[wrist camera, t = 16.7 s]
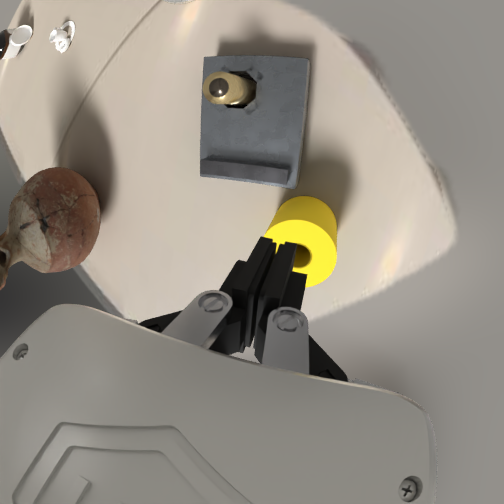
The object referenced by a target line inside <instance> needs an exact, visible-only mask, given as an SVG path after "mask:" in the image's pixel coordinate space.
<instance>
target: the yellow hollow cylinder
mask: <svg viewBox="0 0 504 504" xmlns="http://www.w3.org/2000/svg"><path fill="white" fill-rule="evenodd" d="M264 237H266V238H271V239H273V242H276V243H277V247H276V252H277V250H278V247H279V245H280V243H281V244H284V243H285V241H287V242H292V243H297V248H296V254H295V260H294V266H293V271H294V272H299V273H304V274H308V275H307V280H306V286H305V287H311V286H314V285H317V284H319V283H321V282H322V281H324V280H325V279H326V278H327V277H328V276H329V275H330V274H331V273H332V271H333V269H334V267H335V264H336V257H337V223H336V219H335V216H334V214H333V212H332V210H331V209H330V208H329V207H328V206H327V205H326V204H325V203H324V202H322V201H321V200H319V199H317V198H314V197H310V196H298V197H294V198H291V199H289V200H287V201H286V202H285V203H283V204H282V205H281V206H280V208H279V209H278V211H277V213H276V215H275V216H274V218H273V220H272V222H271V224H270V226H269V228H268V229H267V231H266V233H265V235H264Z"/></svg>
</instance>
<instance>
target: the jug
mask: <svg viewBox="0 0 504 504" xmlns="http://www.w3.org/2000/svg"><path fill="white" fill-rule="evenodd" d="M99 204H100V202H99V199H98V194H97V192H96V191H95V189H94V188H93V186H92V185H90V184H89V182H88V181H87V180H86V179H85V178H84V177H83V176H81V175H80V174H78V173H77V172H75V171H73V170H70V169H67V168H62V167H54V168H48V169H45V170H42V171H40V172H38V173H36V174H35V175H34V176H32V177H31V178H30V179H29V180H28V181H27V182H26V183H25V184H24V185H23V186H22V188H21V189H20V190H19V192H18V193H17V195H16V196H15V197H14V199H13V201H12V202H11V205H10V209H9V216H8V217H9V218H8V227H7V229H6V231H5V232H4V233H3V234H2V235H1V236H0V289H2V288H3V287H4V286H5V280H6V278H7V275H8V269H9V268H10V266H11V265H12V264H14V263H16V262H18V261H24V262H25V263H26V264H28V265H30V266H31V267H32V268H34V269H36V270H38V271H39V272H43V273H48V272H60V271H64V270H67V269H70V268H73V267H75V266H77V265H78V264H80V263H81V262H83V261H84V260H85V259H86V257H87V256H88V255H89V254H90V252H91V250H92V249H93V246H94V244H95V242H96V239H97V237H98V234H99V229H100V207H99Z"/></svg>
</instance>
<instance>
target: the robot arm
mask: <svg viewBox="0 0 504 504" xmlns="http://www.w3.org/2000/svg"><path fill="white" fill-rule="evenodd" d="M164 1H166V2H168V3H172V4H183V3H188V2H192V1H195V0H164ZM276 247H277V243H276V242H273V239H271V238H266V237H260V239H259V241H258V242H257V244H256V246H255V248H254V249H253V251H252V253H251V255H250V257H249V258H248V260H247V262H246V261H241V260H238V261H237V262H236V263H235V265H234V267H233V268H232V270H231V272H230V273H229V275H228V276H227V278H226V280H225V281H224V283H223V284H222V286H221V288H220V289H219V291H218V290H210V291H205V292H203V293H201V294H199V295H198V296H197V297H196V298H195V299H194V300H193V301H192V302H191V303H190V304H189V305H188V306H187V307H186V308H185V309H184V310H182V311H178V312H174V313H171V314H167V315H163V316H159V317H156V318H152V319H148V320H145V321H142V322H141V323H139V324H138V322H137V320H131V319H125V318H119V317H116V316H114V315H111V314H109V313H106V312H103V311H101V310H98V309H95V308H91V307H88V306H83V305H78V304H62V305H57V306H54V307H52V308H51V309H49V310H48V311H46V312H45V313H44V314H43V315H41V316H40V317H39V318H38V319H37V320H36V321H35V322H33V323H32V324H31V325H30V326H29V327H28V328H27V329H26V330H25V332H23V333H22V334H21V336H20V337H19V338H18V339H17V340H16V341H15V342H14V343H13V344H12V346H11V347H10V348H9V349H8V350H7V351H6V353H5V354H4V355H3V356H2V357H1V359H0V504H435V494H436V483H437V449H436V440H435V434H434V429H433V425H432V421H431V419H430V417H429V415H428V413H427V412H426V410H425V409H424V408H423V407H421V406H420V405H418V404H417V403H416V402H414V401H413V400H411V399H409V398H407V397H405V396H403V395H402V394H400V393H398V392H395V391H391V390H388V389H385V388H382V387H379V386H376V385H373V384H370V383H368V382H365V381H362V380H359V379H355V380H354V381H353V380H350V379H348V378H347V376H346V374H345V373H344V372H343V370H341V368H340V367H339V366H338V365H337V364H336V363H335V362H334V361H333V360H332V359H331V358H330V357H329V356H328V355H327V354H326V352H325V351H324V350H323V349H322V348H321V347H320V346H319V345H318V344H317V343H316V342H315V341H314V340H313V339H312V337H311V336H310V335H309V334H308V320H307V317H306V316H305V314H304V313H302V312H301V311H300V310H301V305H302V300H303V295H304V291H305V286H306V280H307V275H308V274H304V273H299V272H294V271H293V266H294V260H295V254H296V248H297V243H292V242H287V241H285V243H284V244H281V243H280V245H279V247H278V250H277V252H276ZM254 336H255V337H254ZM253 338H254V346H253V347H254V349H255V356H256V358H257V359H258V361H259V362H260V364H259V363H256V362H252V361H247V360H244V359H240V358H237V357H233V356H231V354H233V353H236V352H241V353H243V352H244V349H245V347H246V346H247V347H250V346H251V343H252V341H253Z"/></svg>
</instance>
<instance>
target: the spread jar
mask: <svg viewBox="0 0 504 504" xmlns="http://www.w3.org/2000/svg"><path fill="white" fill-rule="evenodd" d="M31 35H32V28H31V27H30V26H28V25H22V26H19V27H18V28H15V29H6V30H3V31H2V32H0V60H2V59H9V58H13V57H16V56H17V55H18V54H19V53H20V52H21V50H22V49H23V47H24V44H25V43H27V42H28V41H29V39H30V37H31Z"/></svg>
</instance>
